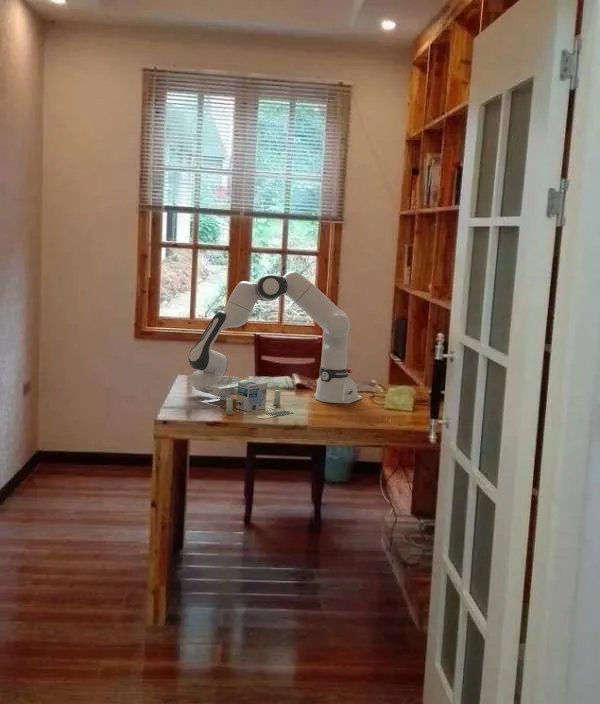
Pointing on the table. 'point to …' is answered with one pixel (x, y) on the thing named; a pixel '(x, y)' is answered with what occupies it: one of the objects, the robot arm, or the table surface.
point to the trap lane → (276, 402)
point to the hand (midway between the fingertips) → (245, 392)
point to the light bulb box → (251, 395)
